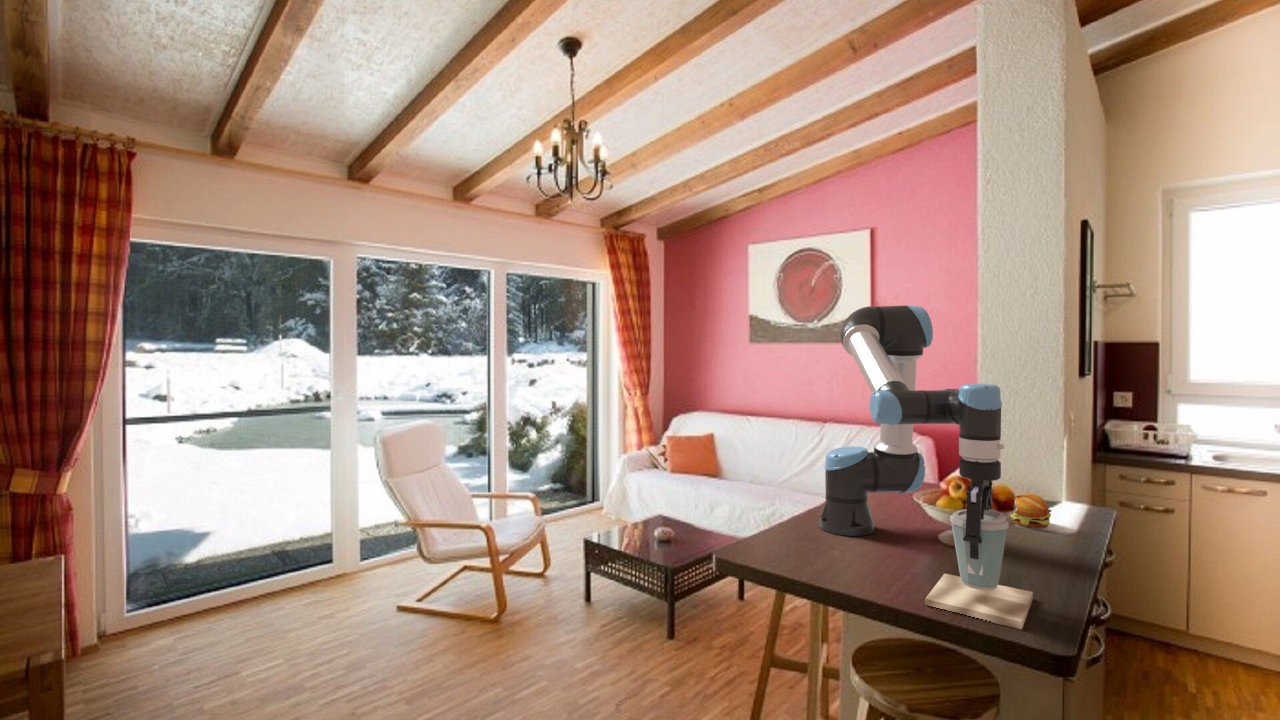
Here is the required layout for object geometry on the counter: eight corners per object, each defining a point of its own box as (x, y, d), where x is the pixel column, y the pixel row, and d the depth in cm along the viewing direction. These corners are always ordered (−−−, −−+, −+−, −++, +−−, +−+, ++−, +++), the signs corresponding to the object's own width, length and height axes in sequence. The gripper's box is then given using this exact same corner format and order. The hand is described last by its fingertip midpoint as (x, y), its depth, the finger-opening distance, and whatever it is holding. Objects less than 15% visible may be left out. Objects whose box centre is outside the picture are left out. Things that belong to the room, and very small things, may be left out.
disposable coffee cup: (964, 594, 120) (964, 519, 120) (940, 574, 131) (940, 505, 130) (1019, 595, 119) (1020, 520, 119) (990, 574, 130) (991, 505, 130)
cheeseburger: (1050, 521, 180) (1051, 490, 178) (1051, 539, 171) (1052, 508, 169) (1010, 516, 185) (1011, 486, 183) (1009, 533, 177) (1010, 502, 174)
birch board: (925, 605, 125) (925, 598, 125) (944, 579, 138) (944, 573, 138) (1021, 629, 114) (1021, 621, 114) (1032, 599, 127) (1032, 592, 127)
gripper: (991, 469, 114) (991, 587, 115) (1008, 452, 131) (1008, 556, 132) (948, 465, 119) (948, 578, 120) (969, 449, 136) (969, 549, 136)
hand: (979, 566), depth 126 cm, fingers open, 9 cm apart
